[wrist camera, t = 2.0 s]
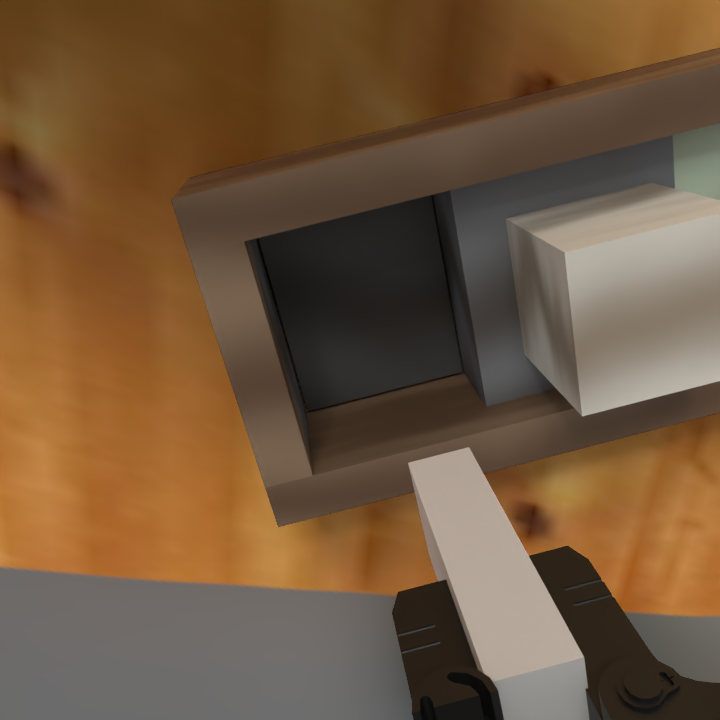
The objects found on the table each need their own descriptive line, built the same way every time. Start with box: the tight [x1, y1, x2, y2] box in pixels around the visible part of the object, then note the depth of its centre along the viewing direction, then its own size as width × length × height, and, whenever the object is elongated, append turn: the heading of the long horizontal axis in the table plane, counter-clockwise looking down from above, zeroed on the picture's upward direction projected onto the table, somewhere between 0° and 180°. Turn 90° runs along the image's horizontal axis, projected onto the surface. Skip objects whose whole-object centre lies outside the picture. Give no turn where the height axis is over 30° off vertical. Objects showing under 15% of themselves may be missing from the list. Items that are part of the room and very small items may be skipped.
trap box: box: [171, 48, 720, 527], centre depth 30 cm, size 14×38×6 cm, turn 103°
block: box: [506, 182, 720, 416], centre depth 26 cm, size 6×6×6 cm
